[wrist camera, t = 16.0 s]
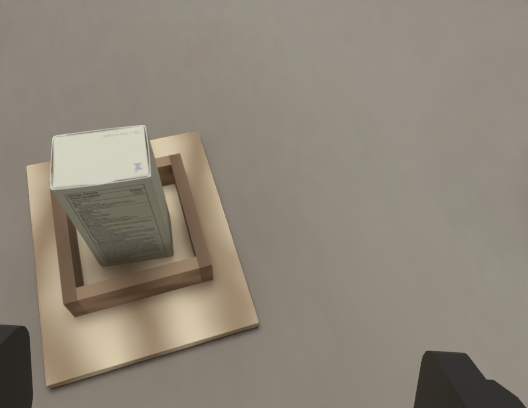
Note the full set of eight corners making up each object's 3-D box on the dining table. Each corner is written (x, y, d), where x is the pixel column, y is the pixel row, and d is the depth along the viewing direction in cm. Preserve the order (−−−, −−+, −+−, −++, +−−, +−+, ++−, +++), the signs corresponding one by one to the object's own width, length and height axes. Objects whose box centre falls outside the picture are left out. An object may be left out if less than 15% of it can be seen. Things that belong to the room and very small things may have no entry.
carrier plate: (198, 137, 48) (195, 109, 45) (258, 326, 39) (260, 310, 35) (30, 172, 45) (13, 145, 41) (50, 388, 35) (31, 377, 32)
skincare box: (170, 213, 42) (150, 121, 32) (174, 258, 40) (155, 176, 30) (96, 222, 41) (50, 132, 31) (96, 269, 39) (48, 189, 29)
